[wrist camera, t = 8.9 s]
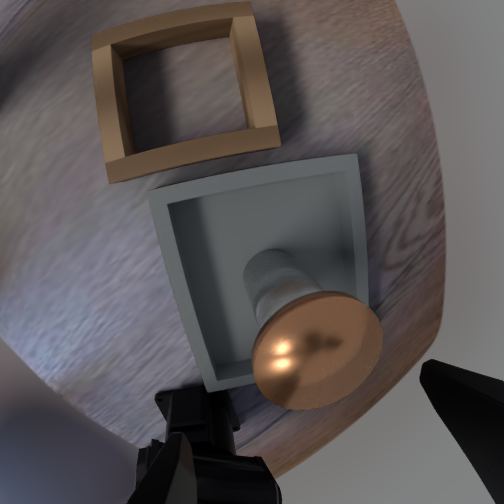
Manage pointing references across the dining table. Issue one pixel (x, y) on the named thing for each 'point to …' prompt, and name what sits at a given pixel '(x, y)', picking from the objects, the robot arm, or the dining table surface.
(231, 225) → the tray
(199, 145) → the square wooden frame
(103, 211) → the dining table surface
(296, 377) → the glass jar
